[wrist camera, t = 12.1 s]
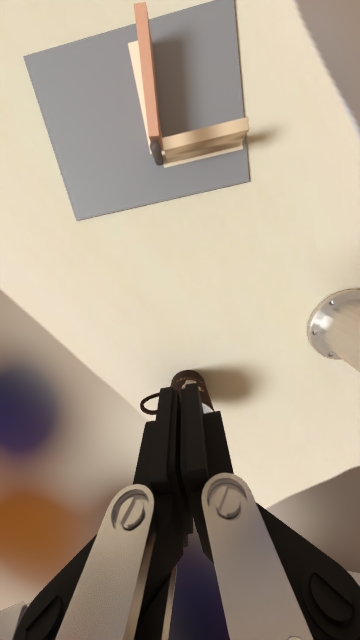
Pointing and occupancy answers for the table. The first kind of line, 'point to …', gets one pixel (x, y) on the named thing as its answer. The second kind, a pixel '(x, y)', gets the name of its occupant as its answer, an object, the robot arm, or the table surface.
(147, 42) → the folding fence panel
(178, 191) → the card
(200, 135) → the fixed fence section
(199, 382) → the coffee mug
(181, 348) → the table surface
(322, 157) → the table surface
